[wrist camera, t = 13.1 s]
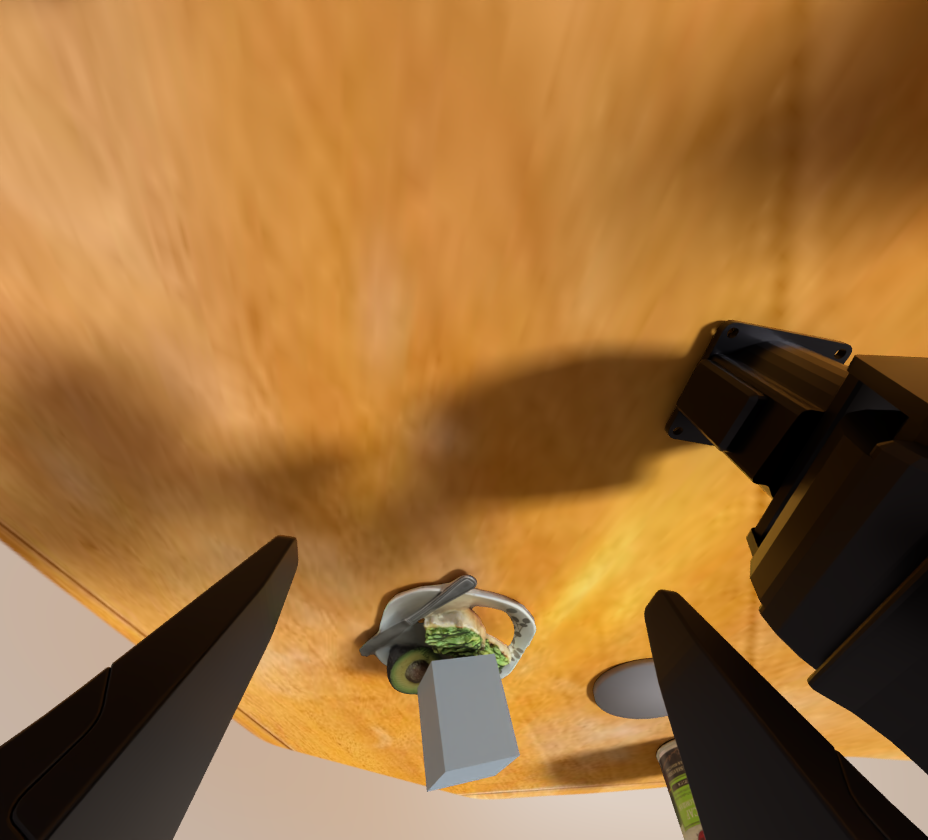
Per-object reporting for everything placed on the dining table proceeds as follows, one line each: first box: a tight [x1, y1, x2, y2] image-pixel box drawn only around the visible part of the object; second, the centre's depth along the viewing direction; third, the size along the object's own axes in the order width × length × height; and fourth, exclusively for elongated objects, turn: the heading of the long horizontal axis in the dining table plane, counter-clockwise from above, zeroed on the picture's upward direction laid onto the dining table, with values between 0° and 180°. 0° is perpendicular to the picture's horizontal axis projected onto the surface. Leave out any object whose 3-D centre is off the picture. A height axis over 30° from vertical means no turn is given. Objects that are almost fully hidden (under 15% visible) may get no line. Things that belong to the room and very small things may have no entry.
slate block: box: [417, 654, 520, 792], centre depth 27 cm, size 5×5×6 cm
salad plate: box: [359, 575, 536, 694], centre depth 30 cm, size 15×14×4 cm
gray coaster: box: [593, 658, 668, 719], centre depth 35 cm, size 10×10×1 cm
